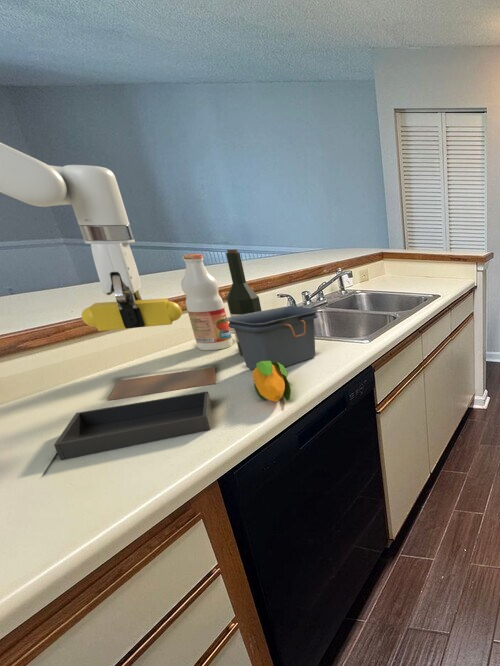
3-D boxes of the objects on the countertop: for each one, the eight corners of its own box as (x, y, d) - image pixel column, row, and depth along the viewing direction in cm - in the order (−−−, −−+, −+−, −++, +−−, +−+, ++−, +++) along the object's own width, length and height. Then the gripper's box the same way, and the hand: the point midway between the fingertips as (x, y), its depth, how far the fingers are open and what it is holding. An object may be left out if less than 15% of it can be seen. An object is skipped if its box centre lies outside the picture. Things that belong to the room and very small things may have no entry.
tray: (61, 463, 72) (53, 444, 70) (83, 429, 83) (76, 412, 81) (211, 432, 83) (206, 416, 81) (212, 405, 94) (208, 391, 92)
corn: (279, 351, 105) (291, 375, 90) (287, 379, 109) (300, 407, 93) (245, 358, 102) (252, 384, 86) (254, 386, 105) (263, 417, 90)
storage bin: (297, 349, 132) (288, 304, 127) (335, 356, 127) (328, 309, 121) (232, 370, 114) (219, 318, 108) (273, 380, 108) (262, 325, 103)
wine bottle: (242, 348, 131) (219, 248, 120) (272, 347, 134) (252, 248, 122) (235, 357, 124) (209, 251, 113) (267, 355, 126) (245, 250, 115)
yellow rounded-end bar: (83, 332, 85) (74, 307, 83) (89, 327, 88) (80, 303, 87) (183, 323, 93) (177, 300, 91) (185, 319, 96) (179, 297, 95)
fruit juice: (198, 344, 135) (173, 253, 124) (233, 340, 139) (212, 252, 129) (197, 352, 127) (170, 256, 117) (233, 348, 132) (210, 255, 121)
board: (108, 401, 94) (107, 400, 94) (119, 381, 105) (119, 380, 105) (214, 384, 105) (214, 383, 104) (215, 368, 115) (215, 366, 115)
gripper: (93, 233, 89) (122, 318, 95) (69, 237, 75) (105, 336, 82) (139, 232, 92) (164, 315, 99) (124, 237, 79) (153, 331, 86)
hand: (137, 323), depth 91 cm, fingers closed on yellow rounded-end bar, 4 cm apart
